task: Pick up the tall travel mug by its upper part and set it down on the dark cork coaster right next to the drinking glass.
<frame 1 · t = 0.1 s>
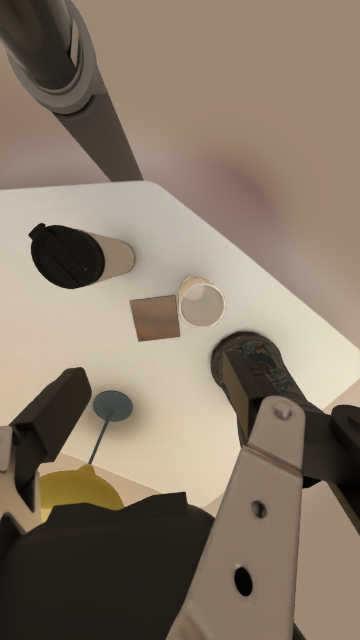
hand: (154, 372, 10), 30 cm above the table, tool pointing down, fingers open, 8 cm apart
beer stein: (241, 363, 46), on the table
travel mug: (120, 256, 36), on the table
coaster: (156, 318, 41), on the table
drinking glass: (192, 288, 39), on the table
cocktail glass: (113, 405, 50), on the table
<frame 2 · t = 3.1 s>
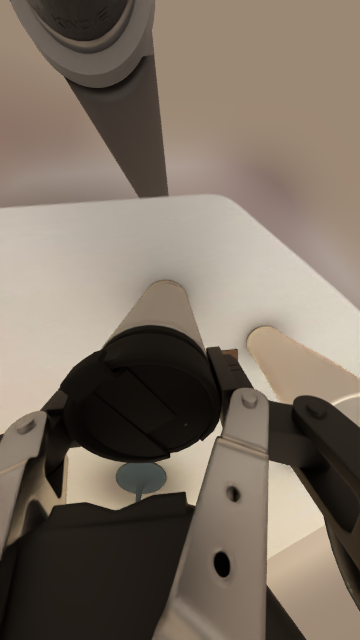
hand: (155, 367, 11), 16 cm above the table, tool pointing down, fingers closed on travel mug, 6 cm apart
beer stein: (312, 428, 35), on the table
travel mug: (165, 300, 25), on the table, touching gripper
drinking glass: (261, 340, 28), on the table
cocktail glass: (141, 476, 39), on the table
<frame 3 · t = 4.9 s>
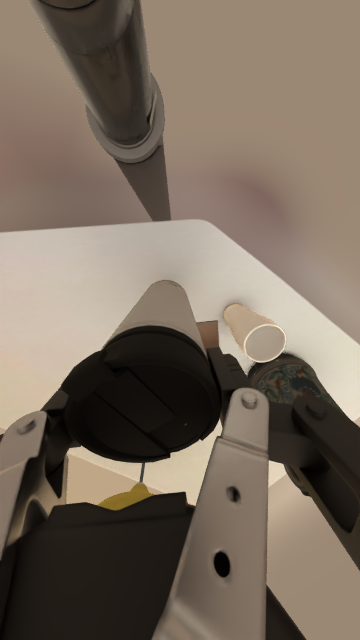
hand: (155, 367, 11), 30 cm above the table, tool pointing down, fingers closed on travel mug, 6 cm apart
beer stein: (275, 382, 48), on the table
travel mug: (165, 300, 25), point 14 cm above the table, touching gripper
coaster: (197, 341, 43), on the table
drinking glass: (233, 314, 41), on the table
cocktail glass: (150, 421, 52), on the table
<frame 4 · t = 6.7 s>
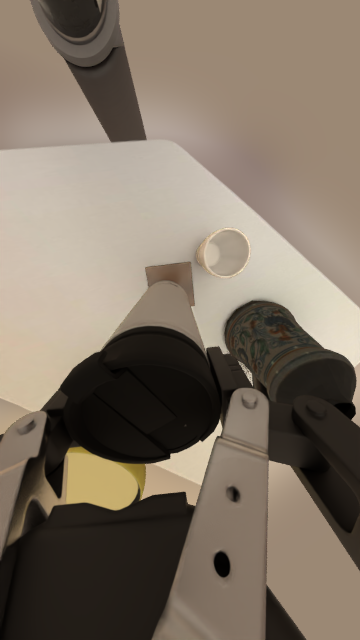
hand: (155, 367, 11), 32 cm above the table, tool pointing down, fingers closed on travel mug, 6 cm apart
beer stein: (255, 335, 46), on the table
travel mug: (165, 300, 25), point 16 cm above the table, touching gripper
coaster: (170, 287, 41), on the table
drinking glass: (207, 254, 39), on the table
cocktail glass: (125, 379, 49), on the table
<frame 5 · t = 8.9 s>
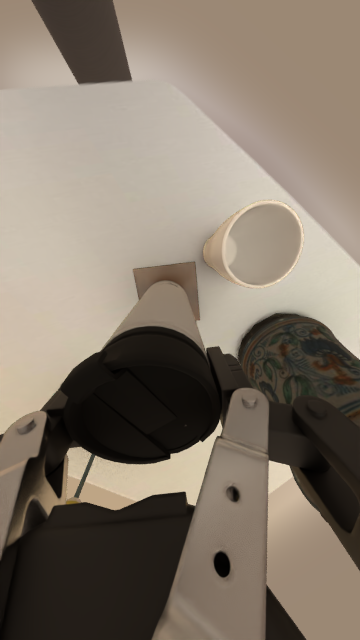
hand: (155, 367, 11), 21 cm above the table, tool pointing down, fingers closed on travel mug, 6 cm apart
beer stein: (277, 356, 35), on the table
travel mug: (165, 300, 25), point 5 cm above the table, touching gripper
coaster: (168, 295, 30), on the table
drinking glass: (218, 251, 28), on the table
when the fingers open (16 cm above the table, at t = 10.7 s): travel mug stays where it is, resting on coaster.
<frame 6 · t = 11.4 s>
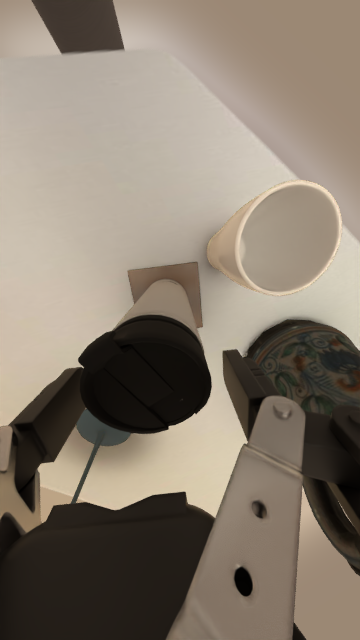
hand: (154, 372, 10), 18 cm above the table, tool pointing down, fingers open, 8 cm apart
beer stein: (288, 366, 32), on the table
travel mug: (165, 298, 27), resting on coaster
coaster: (167, 299, 27), on the table
drinking glass: (224, 251, 25), on the table
cocktail glass: (105, 424, 36), on the table
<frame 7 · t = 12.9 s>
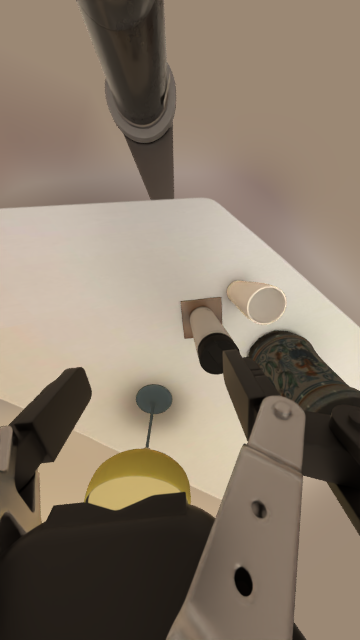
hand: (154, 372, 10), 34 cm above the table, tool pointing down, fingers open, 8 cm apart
beer stein: (275, 360, 50), on the table
travel mug: (201, 317, 45), resting on coaster
coaster: (201, 318, 45), on the table
drinking glass: (236, 291, 44), on the table
cocktail glass: (154, 398, 53), on the table
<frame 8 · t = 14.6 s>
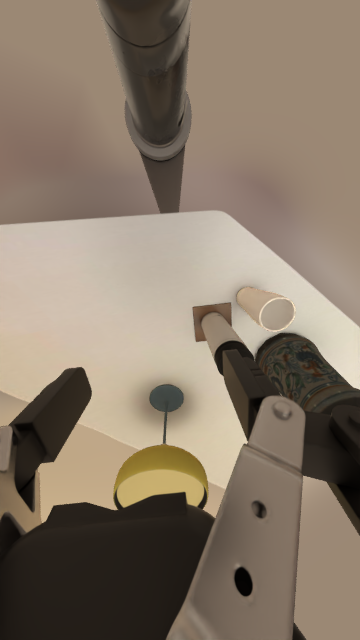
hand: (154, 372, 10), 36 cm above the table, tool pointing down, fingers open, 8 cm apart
beer stein: (281, 360, 53), on the table
travel mug: (212, 321, 48), resting on coaster
coaster: (212, 322, 48), on the table
drinking glass: (245, 296, 46), on the table
cocktail glass: (166, 397, 57), on the table
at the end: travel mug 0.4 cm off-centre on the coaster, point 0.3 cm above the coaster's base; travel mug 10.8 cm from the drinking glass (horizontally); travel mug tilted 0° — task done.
